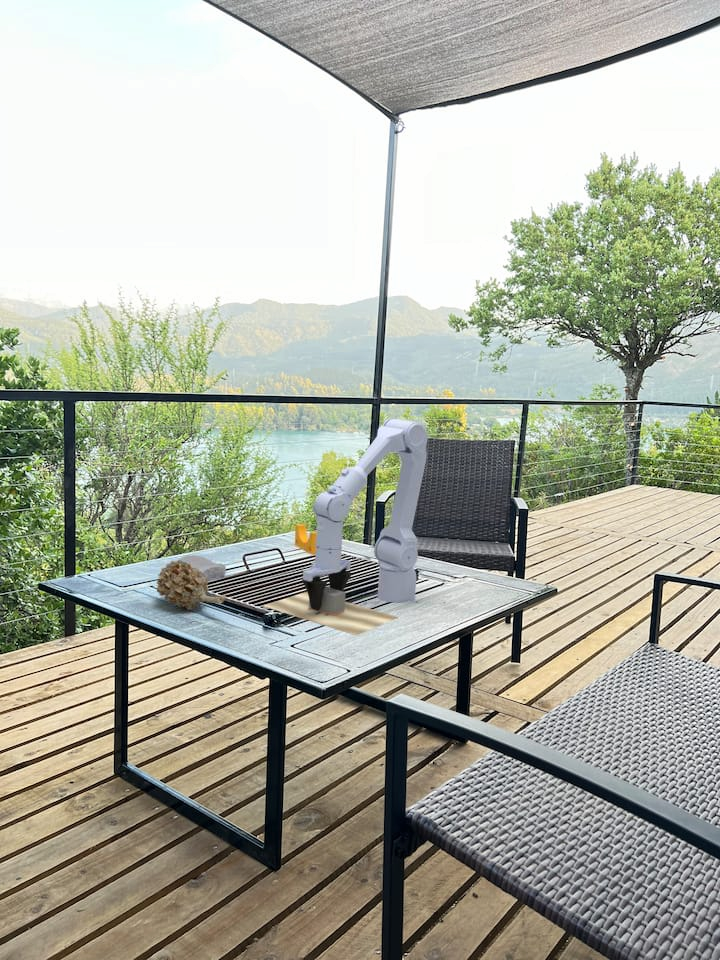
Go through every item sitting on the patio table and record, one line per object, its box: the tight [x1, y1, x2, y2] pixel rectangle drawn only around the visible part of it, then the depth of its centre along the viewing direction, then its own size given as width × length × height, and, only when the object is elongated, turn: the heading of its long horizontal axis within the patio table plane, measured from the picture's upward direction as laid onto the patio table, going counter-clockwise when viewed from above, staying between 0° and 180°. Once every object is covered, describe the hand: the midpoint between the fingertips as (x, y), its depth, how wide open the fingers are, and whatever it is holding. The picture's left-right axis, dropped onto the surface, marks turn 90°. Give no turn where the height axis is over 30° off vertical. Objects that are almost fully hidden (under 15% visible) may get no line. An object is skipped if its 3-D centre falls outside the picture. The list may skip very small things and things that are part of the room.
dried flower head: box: [156, 560, 226, 611], centre depth 174 cm, size 22×10×10 cm, turn 56°
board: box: [262, 591, 399, 636], centre depth 175 cm, size 16×26×2 cm, turn 54°
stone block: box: [177, 555, 227, 581], centre depth 203 cm, size 12×5×10 cm
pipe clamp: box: [294, 523, 317, 556], centre depth 235 cm, size 12×4×6 cm, turn 29°
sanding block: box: [309, 586, 346, 616], centre depth 175 cm, size 4×7×4 cm, turn 54°
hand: (325, 605), depth 176 cm, fingers open, 6 cm apart
